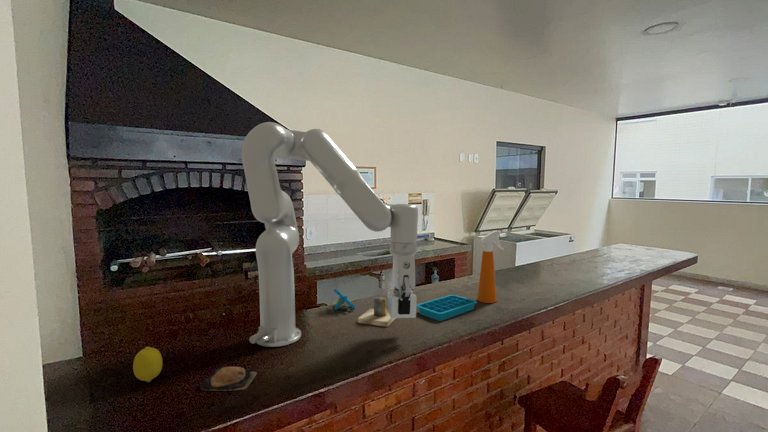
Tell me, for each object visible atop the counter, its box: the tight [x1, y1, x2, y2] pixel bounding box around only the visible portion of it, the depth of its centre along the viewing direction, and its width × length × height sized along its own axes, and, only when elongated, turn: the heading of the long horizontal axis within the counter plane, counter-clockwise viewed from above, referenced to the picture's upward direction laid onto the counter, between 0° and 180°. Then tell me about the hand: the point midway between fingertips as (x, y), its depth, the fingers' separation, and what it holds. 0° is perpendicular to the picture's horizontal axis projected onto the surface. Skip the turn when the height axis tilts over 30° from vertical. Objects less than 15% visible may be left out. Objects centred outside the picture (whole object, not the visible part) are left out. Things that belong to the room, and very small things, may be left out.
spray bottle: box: [476, 230, 505, 304], centre depth 140 cm, size 7×11×26 cm, turn 112°
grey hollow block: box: [386, 288, 418, 319], centre depth 106 cm, size 7×7×6 cm
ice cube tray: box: [416, 294, 478, 322], centre depth 129 cm, size 12×20×3 cm, turn 130°
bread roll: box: [198, 366, 257, 392], centre depth 83 cm, size 11×8×4 cm
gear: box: [333, 288, 357, 311], centre depth 131 cm, size 11×6×10 cm
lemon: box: [132, 346, 163, 383], centre depth 82 cm, size 6×6×8 cm
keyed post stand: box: [357, 296, 397, 328], centre depth 121 cm, size 10×10×7 cm
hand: (401, 308), depth 107 cm, fingers closed on grey hollow block, 7 cm apart
